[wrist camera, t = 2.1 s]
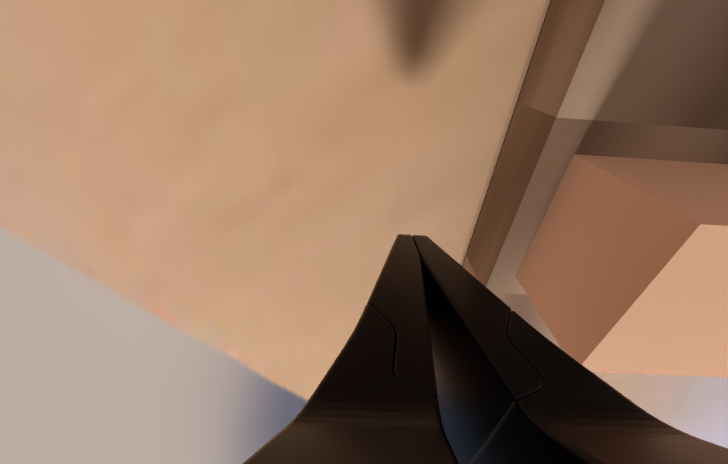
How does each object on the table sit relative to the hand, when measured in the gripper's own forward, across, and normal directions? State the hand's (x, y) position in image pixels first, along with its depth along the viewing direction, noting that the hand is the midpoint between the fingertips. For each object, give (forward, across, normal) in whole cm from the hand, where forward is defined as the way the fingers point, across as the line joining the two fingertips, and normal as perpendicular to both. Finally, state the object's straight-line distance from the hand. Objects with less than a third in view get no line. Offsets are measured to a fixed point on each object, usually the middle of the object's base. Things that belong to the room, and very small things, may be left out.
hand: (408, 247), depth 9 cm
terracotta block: (+2, -7, 0) cm, 8 cm away
